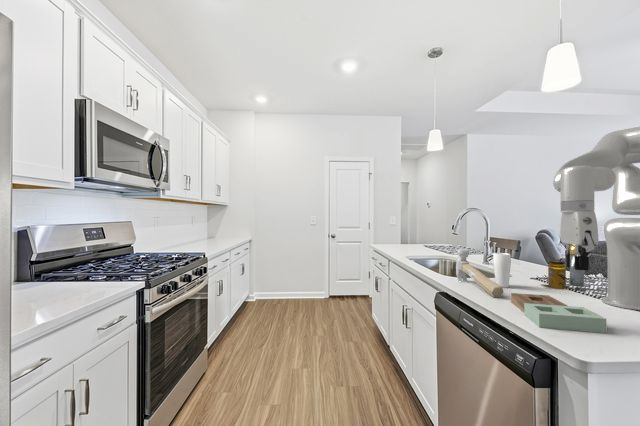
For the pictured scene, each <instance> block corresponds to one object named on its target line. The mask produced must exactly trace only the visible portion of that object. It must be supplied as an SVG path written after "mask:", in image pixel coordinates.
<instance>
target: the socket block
mask: <svg viewBox="0 0 640 426" xmlns="http://www.w3.org/2000/svg"><path fill="white" fill-rule="evenodd" d="M510 303H511V304H512V305H514V306H515V307H516V308H518V310H520V311H521V312H523V313H524V303H531V304H545V305H559V306H568V305H567V304H566V303H563V302H562V301H560V300H558V299H556V298H555V297H552V296H551V295H549V294H548V295H547V294H533V293H532V294H531V293H519V292H518V293H515V292H514V293H513V292H511V293H510Z"/></svg>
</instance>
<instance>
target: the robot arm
mask: <svg viewBox="0 0 640 426" xmlns="http://www.w3.org/2000/svg"><path fill="white" fill-rule="evenodd" d="M634 164H640V126H637V127H630V128H624V129H620V130H619V129H618V130H614V131H611V132H609V133H607V134H605V135H604V136H602V137H601V138H600V140H599V141H598V142H597V143H596V145H594V147H593V148H592V150H590V151H589V152H585V153H583V154H580V155H579V156H577V157H575V158H573V159H569V160H568V161H566V162H565V163H564V164H562V165H561V166H560V168H559V169H558V170H557V171H556V172H555V174H554V176H553V177H554V178H553V181H552V182H553V183H552V184H553V185H552V186H553V187H554V189H555V190H556V191H557V193H560V213H561V219H560V241H561V243H562V245H563V247H564V249H565V254H566V258H565V260H566V263H565V264H566V265H565V266H566V267H567V268H570V245H575V248H576V256H574V269H575V270H584V271H589V269H590V266H589V262H590V261H589V258H590V256H591V254H590V253H591V252H592V251H593V250H595V247H597V246H598V245H599V242H600V241H599V229H598V219H597V215H596V212H595V192H604V191H607V190H609V189H611V188H612V187H613V190H612V201H611V202H612V203H611V206H612V211H613V212H614V213H615V214H618V215H620V216H640V167H638V166H636V165H634ZM603 234H604V239H605V244H606V251H607V252H606V253H607V254H606V255H607V258H606V259H607V260H606V261H607V296H603V297H601V302H602V303H604V304H607V305H609V306H610V305H611V306H613V307H616V308H623V309H628V310H636V311H637V310H638V311H640V249H639V248H638V246H640V217H617V218H611V219H609V220H607V221H605V223H604V225H603ZM580 245H582V246H580ZM580 248H582V249H581V250H580Z"/></svg>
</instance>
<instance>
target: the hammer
mask: <svg viewBox="0 0 640 426" xmlns="http://www.w3.org/2000/svg"><path fill="white" fill-rule="evenodd" d="M469 254H470V251H469V249H467V248H464V247H463V248H458V249H457V255H458V257H457V259H456V261H455V262H456V264H455V274H456V278H457V281H458V282H459V281H461V282H460V283H469V281H468V277H467V276H469V277H470V278H471V279H472V280H473V281H474V282H475V283H476V284H477V285H478V286H480V287H481V288H482V289H483V290H484V291H486V292H487V293H488V294H489V295H490V296H492V297H493V298H496V299H498V298H501V297H502V296H503V294H504V289H503V287H501V286H499V285H498V284H496V283H495V282H494V281H493V280H491V279H490V278H489V277H487V275H485V274H483V273H482V272H480V271H479V270H478V269H477V268H475V267H474V266H472V265H471V264H470V262H469V261H468V260H467V258H469V256H470V255H469Z"/></svg>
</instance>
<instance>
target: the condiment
mask: <svg viewBox="0 0 640 426" xmlns="http://www.w3.org/2000/svg"><path fill="white" fill-rule="evenodd" d="M548 263H549V264H548V267H547V272H548V273H547V274H548V275H547V278H548V280H547V282H548V283H547V284H543V283H542V284H541V283H540V286H542V287H543V288H544V289H551V290H562V291H570V289H568V288H567V285H566V284H567V282H566V281H567V272H566V271H567V269H566V267H565V266H566V265H565V264H566V263H565V261H563V260H554V259H553V260H549V262H548ZM566 288H567V289H566Z"/></svg>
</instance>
